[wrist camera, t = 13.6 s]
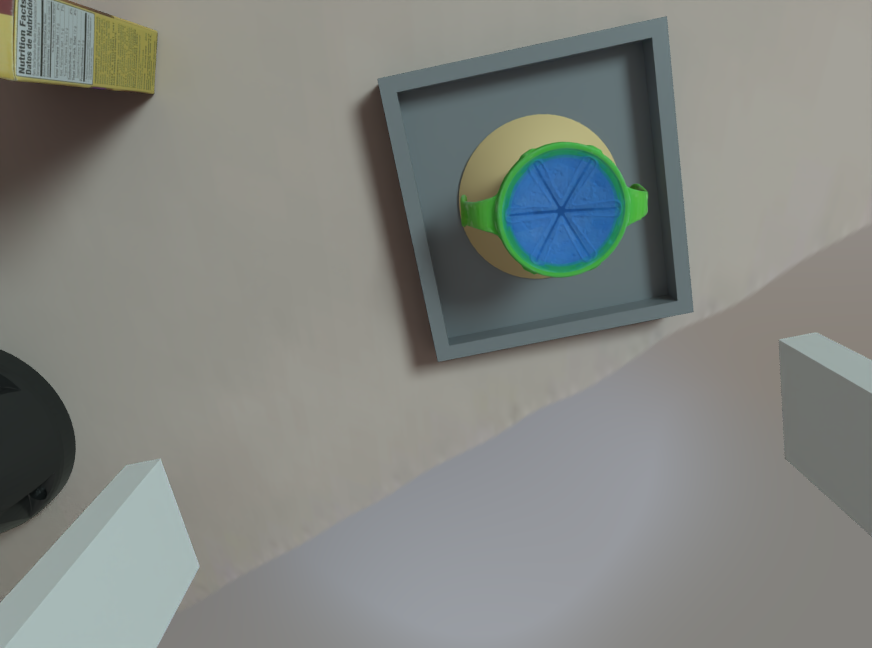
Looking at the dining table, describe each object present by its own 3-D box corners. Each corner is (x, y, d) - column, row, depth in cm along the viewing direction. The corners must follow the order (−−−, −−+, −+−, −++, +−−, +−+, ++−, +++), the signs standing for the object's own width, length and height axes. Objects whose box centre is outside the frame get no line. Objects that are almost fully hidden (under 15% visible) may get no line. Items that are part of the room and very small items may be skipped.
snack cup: (631, 144, 42) (673, 146, 35) (616, 259, 44) (653, 282, 37) (460, 136, 42) (467, 136, 35) (454, 252, 44) (459, 274, 37)
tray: (437, 350, 47) (437, 361, 45) (380, 82, 42) (377, 78, 39) (679, 302, 46) (693, 311, 44) (652, 23, 41) (666, 16, 39)
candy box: (18, 73, 42) (-204, 39, 27) (19, 1, 40) (-214, -75, 26) (156, 101, 42) (12, 82, 27) (161, 31, 41) (13, -27, 26)
